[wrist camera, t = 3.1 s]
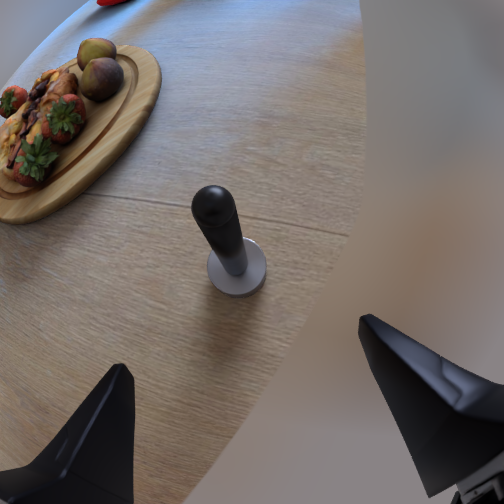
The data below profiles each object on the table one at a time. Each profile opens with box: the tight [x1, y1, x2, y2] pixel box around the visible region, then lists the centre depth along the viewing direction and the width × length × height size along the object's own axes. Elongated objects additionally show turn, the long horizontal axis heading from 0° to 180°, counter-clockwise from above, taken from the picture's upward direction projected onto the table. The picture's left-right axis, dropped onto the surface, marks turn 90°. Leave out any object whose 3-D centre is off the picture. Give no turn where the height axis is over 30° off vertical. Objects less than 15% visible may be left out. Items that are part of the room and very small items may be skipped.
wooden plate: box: [0, 38, 162, 225], centre depth 26 cm, size 32×32×8 cm
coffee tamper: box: [191, 185, 266, 298], centre depth 17 cm, size 4×4×13 cm
